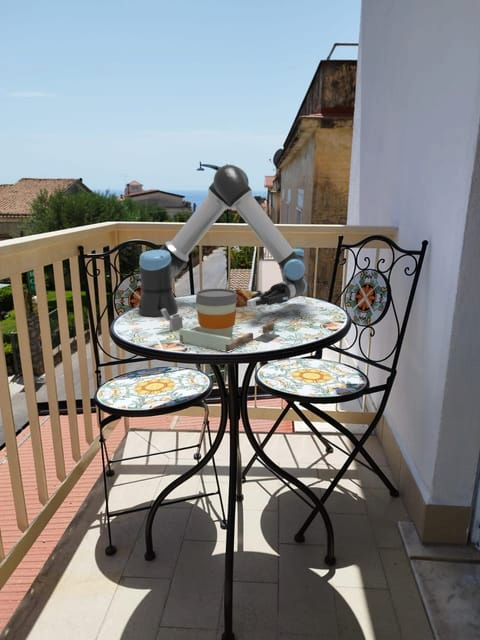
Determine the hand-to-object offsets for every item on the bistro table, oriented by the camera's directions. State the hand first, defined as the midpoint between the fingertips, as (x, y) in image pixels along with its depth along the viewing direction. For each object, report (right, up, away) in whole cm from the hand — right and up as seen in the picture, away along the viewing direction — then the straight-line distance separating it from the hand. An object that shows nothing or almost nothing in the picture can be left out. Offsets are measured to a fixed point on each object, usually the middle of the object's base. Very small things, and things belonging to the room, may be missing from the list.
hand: (248, 304), depth 144 cm
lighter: (-26, -9, -2) cm, 27 cm away
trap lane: (-6, -10, -7) cm, 13 cm away
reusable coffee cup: (-10, -11, -11) cm, 19 cm away
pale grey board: (-13, -13, -18) cm, 26 cm away
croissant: (-2, +1, +34) cm, 34 cm away
